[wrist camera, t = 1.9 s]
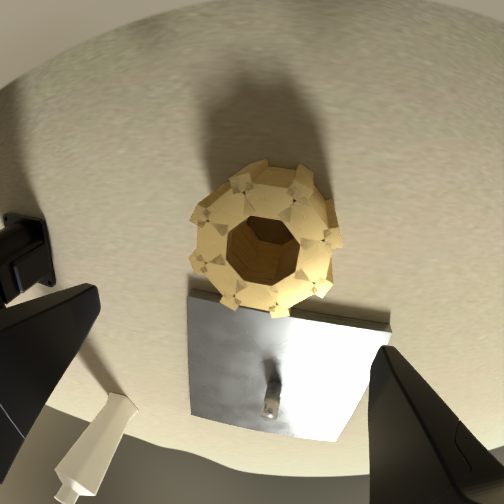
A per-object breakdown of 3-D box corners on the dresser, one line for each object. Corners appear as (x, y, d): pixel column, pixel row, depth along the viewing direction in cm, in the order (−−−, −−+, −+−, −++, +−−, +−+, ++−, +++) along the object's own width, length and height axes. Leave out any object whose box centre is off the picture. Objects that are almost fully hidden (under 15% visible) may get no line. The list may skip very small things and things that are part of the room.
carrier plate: (194, 407, 27) (181, 438, 24) (192, 288, 21) (169, 321, 18) (335, 433, 26) (333, 467, 22) (389, 324, 20) (400, 363, 16)
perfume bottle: (115, 385, 29) (47, 490, 15) (145, 410, 30) (87, 517, 16) (100, 394, 31) (38, 487, 17) (127, 417, 31) (73, 512, 18)
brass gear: (216, 259, 20) (188, 300, 16) (224, 153, 17) (191, 166, 13) (321, 278, 19) (321, 327, 15) (343, 171, 16) (354, 190, 12)
